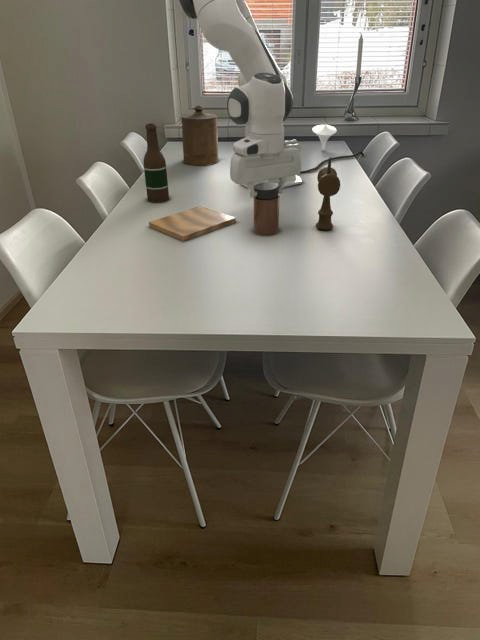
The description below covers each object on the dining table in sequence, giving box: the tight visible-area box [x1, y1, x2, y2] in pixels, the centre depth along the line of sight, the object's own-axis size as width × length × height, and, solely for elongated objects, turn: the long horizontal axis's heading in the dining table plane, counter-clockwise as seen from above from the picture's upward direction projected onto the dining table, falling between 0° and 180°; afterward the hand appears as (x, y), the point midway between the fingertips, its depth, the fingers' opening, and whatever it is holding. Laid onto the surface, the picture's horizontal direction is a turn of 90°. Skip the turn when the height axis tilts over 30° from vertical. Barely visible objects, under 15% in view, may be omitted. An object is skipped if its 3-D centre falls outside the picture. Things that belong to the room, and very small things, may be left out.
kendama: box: [315, 157, 341, 231], centre depth 136 cm, size 6×10×20 cm, turn 175°
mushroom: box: [311, 123, 338, 152], centre depth 220 cm, size 10×11×12 cm
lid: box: [254, 182, 280, 199], centre depth 134 cm, size 7×7×2 cm
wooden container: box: [181, 105, 219, 166], centre depth 204 cm, size 15×15×22 cm
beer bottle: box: [143, 123, 170, 203], centre depth 160 cm, size 8×8×24 cm
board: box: [148, 205, 237, 242], centre depth 145 cm, size 20×16×2 cm
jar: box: [252, 194, 280, 236], centre depth 137 cm, size 7×7×12 cm
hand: (266, 195), depth 135 cm, fingers closed on lid, 6 cm apart
